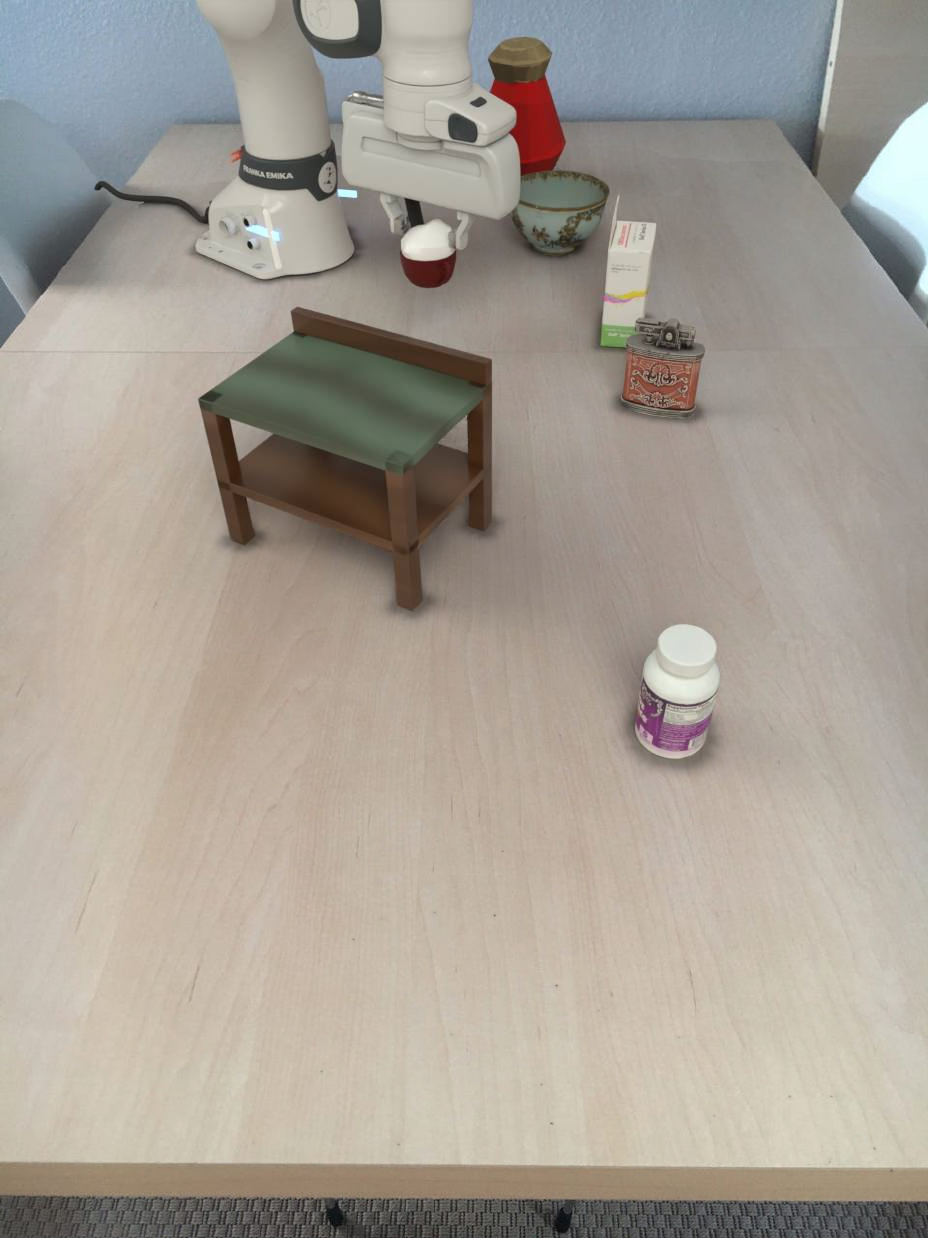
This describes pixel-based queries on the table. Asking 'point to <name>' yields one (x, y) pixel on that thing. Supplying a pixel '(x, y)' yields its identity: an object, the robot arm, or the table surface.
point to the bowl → (559, 209)
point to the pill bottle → (678, 692)
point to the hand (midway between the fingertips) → (429, 239)
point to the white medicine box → (626, 279)
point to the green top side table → (356, 436)
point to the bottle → (528, 101)
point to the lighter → (662, 369)
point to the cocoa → (426, 250)
